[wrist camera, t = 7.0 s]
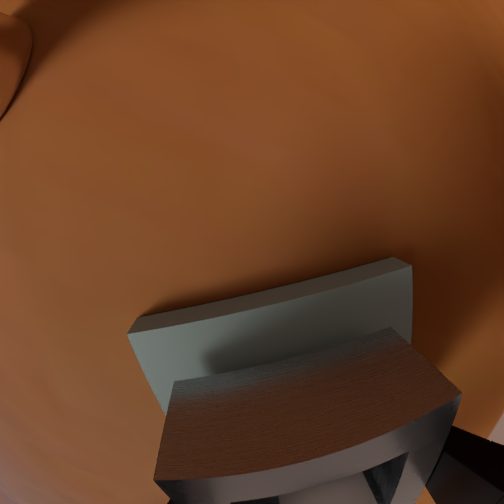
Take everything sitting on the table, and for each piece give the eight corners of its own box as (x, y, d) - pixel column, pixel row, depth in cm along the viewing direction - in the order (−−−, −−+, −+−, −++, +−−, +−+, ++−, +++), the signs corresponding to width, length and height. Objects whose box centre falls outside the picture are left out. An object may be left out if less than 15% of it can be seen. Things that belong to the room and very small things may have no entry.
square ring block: (380, 448, 9) (413, 506, 6) (232, 488, 9) (236, 555, 5) (390, 326, 8) (462, 393, 4) (173, 381, 7) (153, 479, 4)
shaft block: (387, 425, 11) (440, 508, 5) (212, 470, 11) (214, 570, 5) (393, 256, 9) (528, 325, 3) (137, 317, 9) (58, 452, 3)
